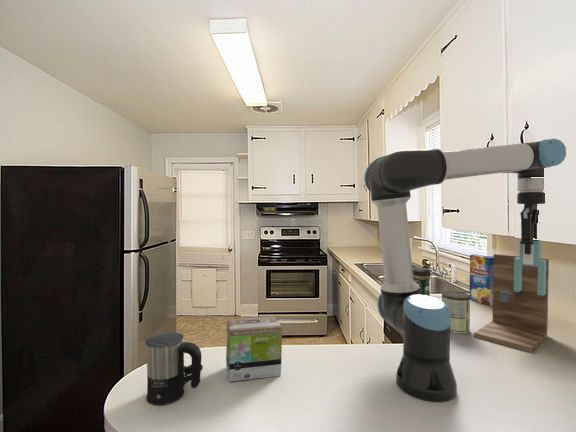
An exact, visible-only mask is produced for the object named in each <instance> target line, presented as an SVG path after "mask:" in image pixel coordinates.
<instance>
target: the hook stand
mask: <svg viewBox="0 0 576 432" xmlns="http://www.w3.org/2000/svg"><path fill="white" fill-rule="evenodd" d="M493 256H494V262H493V305H492V321H490V322H489V323H487V324H486V325H484V326H482V327H481V328H479V329H478V330H476V331H474V332H473V337H475V338H477V337H478V338H477V339H482V340H484V339H485V341H490V342H493V343H496V344H500V345H504V346H508V347H511V348H515V349H519V350H522V351H526V352H530V353H533V352H534V350H535V349H537V348H538V346H539V345H540V344H541V343H542V342H543V341H544V340H545V339H546V338H547V337H548V325H549V324H548V323H549V322H548V321H549V320H548V319H549V317H548V314H549V278H550V277H549V273H550V270H549V267H550V265H549V264H550V258H543V257H542V258H541V260H546V294H545V295H544V296H541V295H537V292H538V267H535V266H526V265H522V295H520V296H518V297H517V298H515V299H513V300H511V301H509V302H508V303H507V302H501V301H500V291H508V290H510V289H512V288H514V258H517V257H518V258H520V255H510V254H500V253H499V254H498V253H494V254H493Z"/></svg>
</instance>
